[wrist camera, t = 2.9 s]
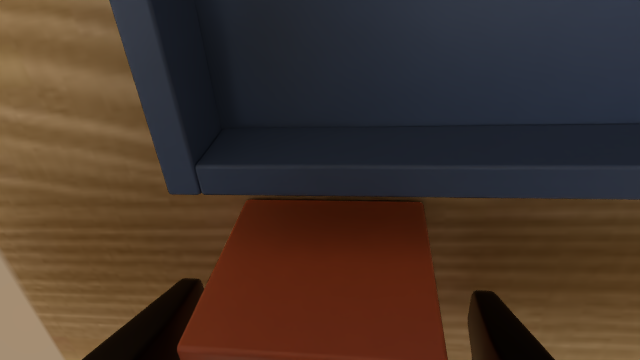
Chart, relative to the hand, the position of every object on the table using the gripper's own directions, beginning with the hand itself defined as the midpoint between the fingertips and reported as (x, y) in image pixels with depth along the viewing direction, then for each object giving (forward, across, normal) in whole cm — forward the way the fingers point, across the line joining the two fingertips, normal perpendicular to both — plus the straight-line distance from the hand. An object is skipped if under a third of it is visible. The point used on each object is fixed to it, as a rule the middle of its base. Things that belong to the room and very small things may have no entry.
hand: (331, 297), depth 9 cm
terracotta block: (+1, 0, 0) cm, 1 cm away
